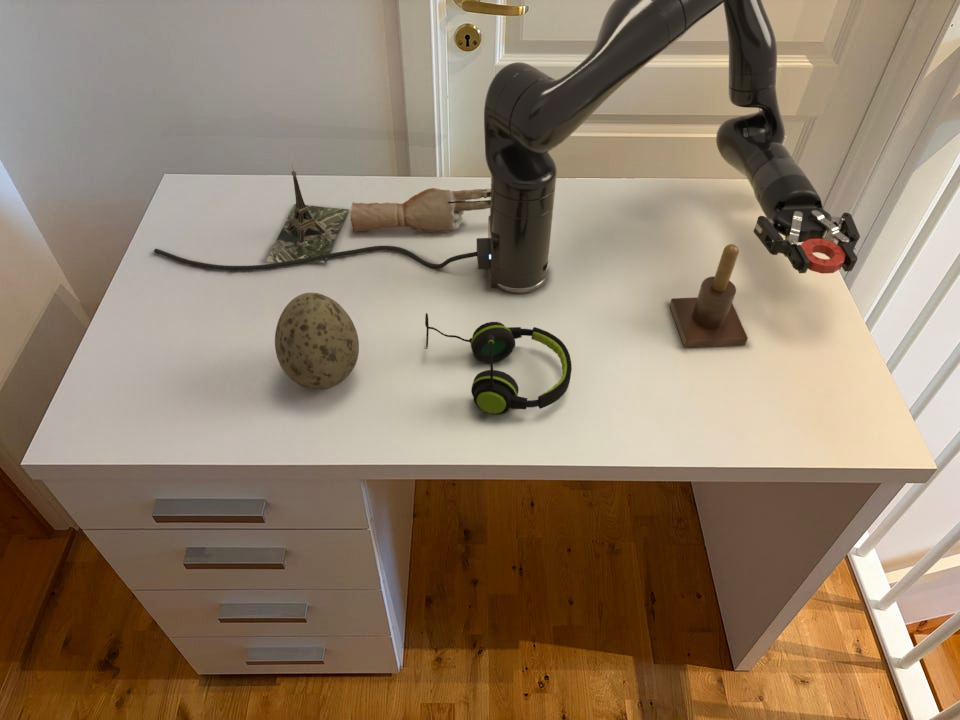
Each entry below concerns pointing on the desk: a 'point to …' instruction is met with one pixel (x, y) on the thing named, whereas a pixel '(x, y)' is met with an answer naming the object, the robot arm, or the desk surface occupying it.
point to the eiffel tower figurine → (307, 231)
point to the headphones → (497, 387)
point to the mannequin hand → (420, 211)
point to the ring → (829, 250)
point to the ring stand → (711, 309)
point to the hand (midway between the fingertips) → (828, 267)
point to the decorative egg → (316, 342)
